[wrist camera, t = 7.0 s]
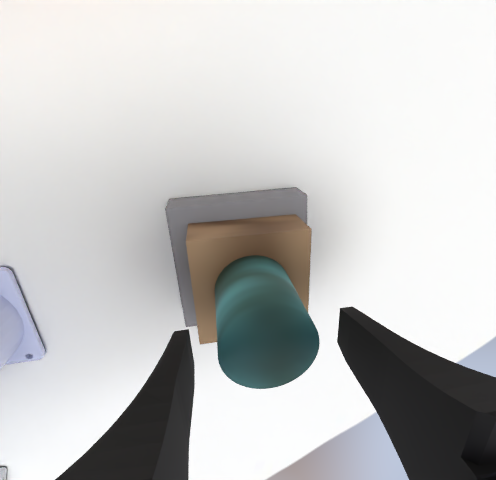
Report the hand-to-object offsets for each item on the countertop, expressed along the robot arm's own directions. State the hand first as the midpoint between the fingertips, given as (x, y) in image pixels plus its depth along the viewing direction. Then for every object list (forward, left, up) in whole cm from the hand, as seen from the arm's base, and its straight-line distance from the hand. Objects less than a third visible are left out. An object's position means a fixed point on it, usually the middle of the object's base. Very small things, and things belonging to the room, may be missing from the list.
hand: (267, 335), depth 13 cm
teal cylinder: (0, 0, -4) cm, 4 cm away
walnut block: (0, 0, -7) cm, 7 cm away
